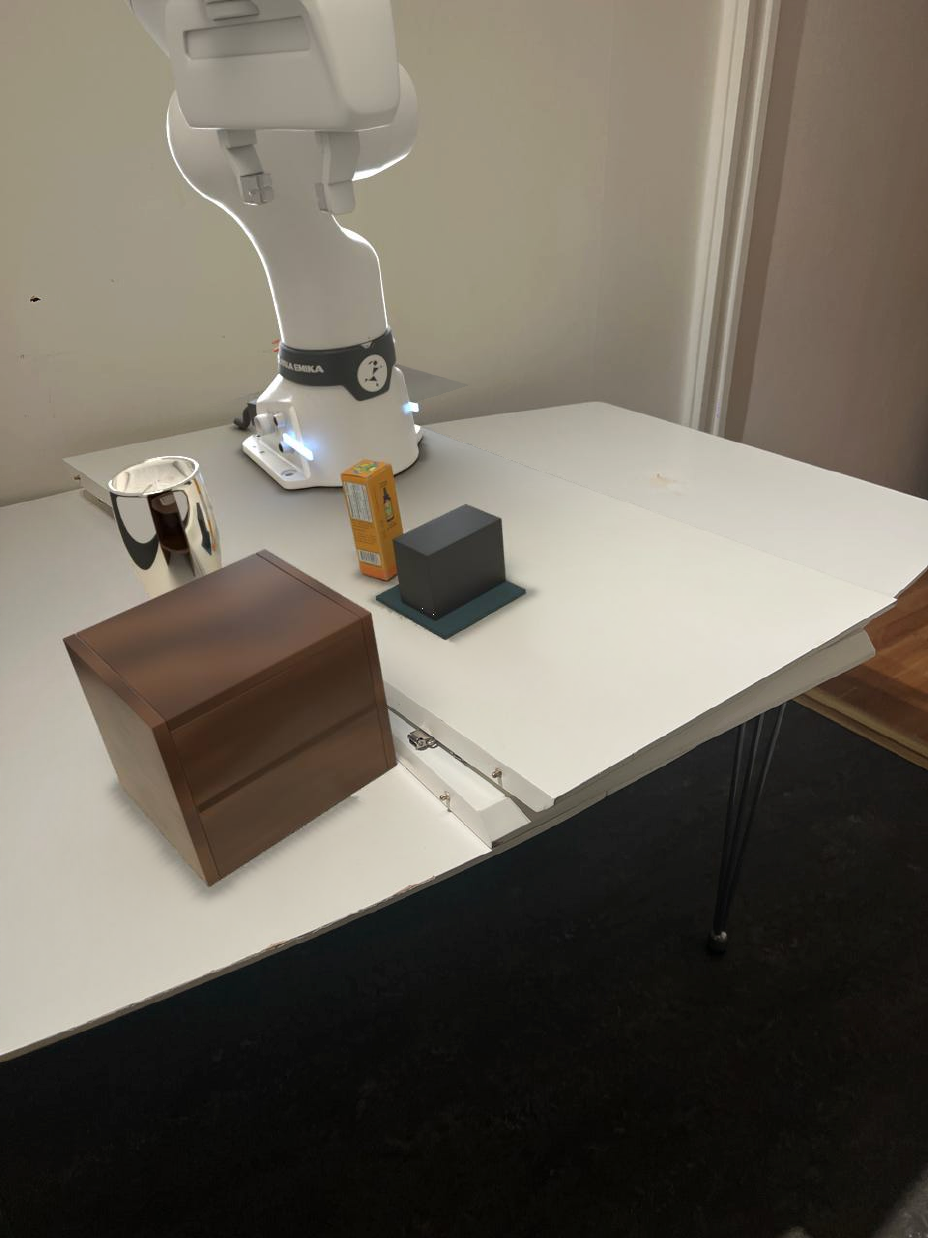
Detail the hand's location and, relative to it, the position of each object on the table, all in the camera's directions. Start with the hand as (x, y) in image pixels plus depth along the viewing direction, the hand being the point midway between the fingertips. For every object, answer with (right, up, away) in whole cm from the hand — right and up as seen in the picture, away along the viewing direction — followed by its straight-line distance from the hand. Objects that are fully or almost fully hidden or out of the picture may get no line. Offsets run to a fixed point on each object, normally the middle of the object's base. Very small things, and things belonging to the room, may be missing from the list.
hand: (296, 207), depth 59 cm
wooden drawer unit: (-3, -37, +1) cm, 37 cm away
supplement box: (+4, -22, +22) cm, 32 cm away
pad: (+10, -25, +18) cm, 32 cm away
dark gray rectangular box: (+10, -24, +18) cm, 32 cm away
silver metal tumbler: (-10, -29, +15) cm, 34 cm away
